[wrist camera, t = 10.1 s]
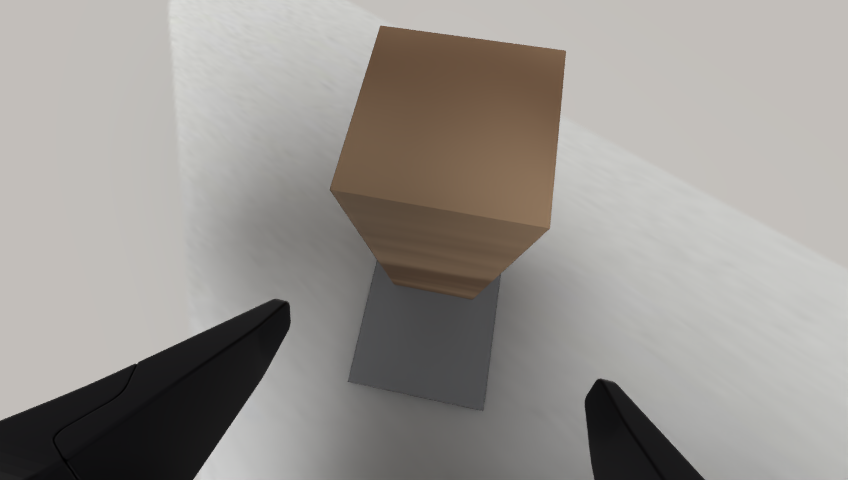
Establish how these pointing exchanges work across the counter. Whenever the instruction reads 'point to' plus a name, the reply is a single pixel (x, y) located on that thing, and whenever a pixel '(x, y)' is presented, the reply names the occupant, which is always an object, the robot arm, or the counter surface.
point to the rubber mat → (426, 342)
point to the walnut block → (451, 156)
